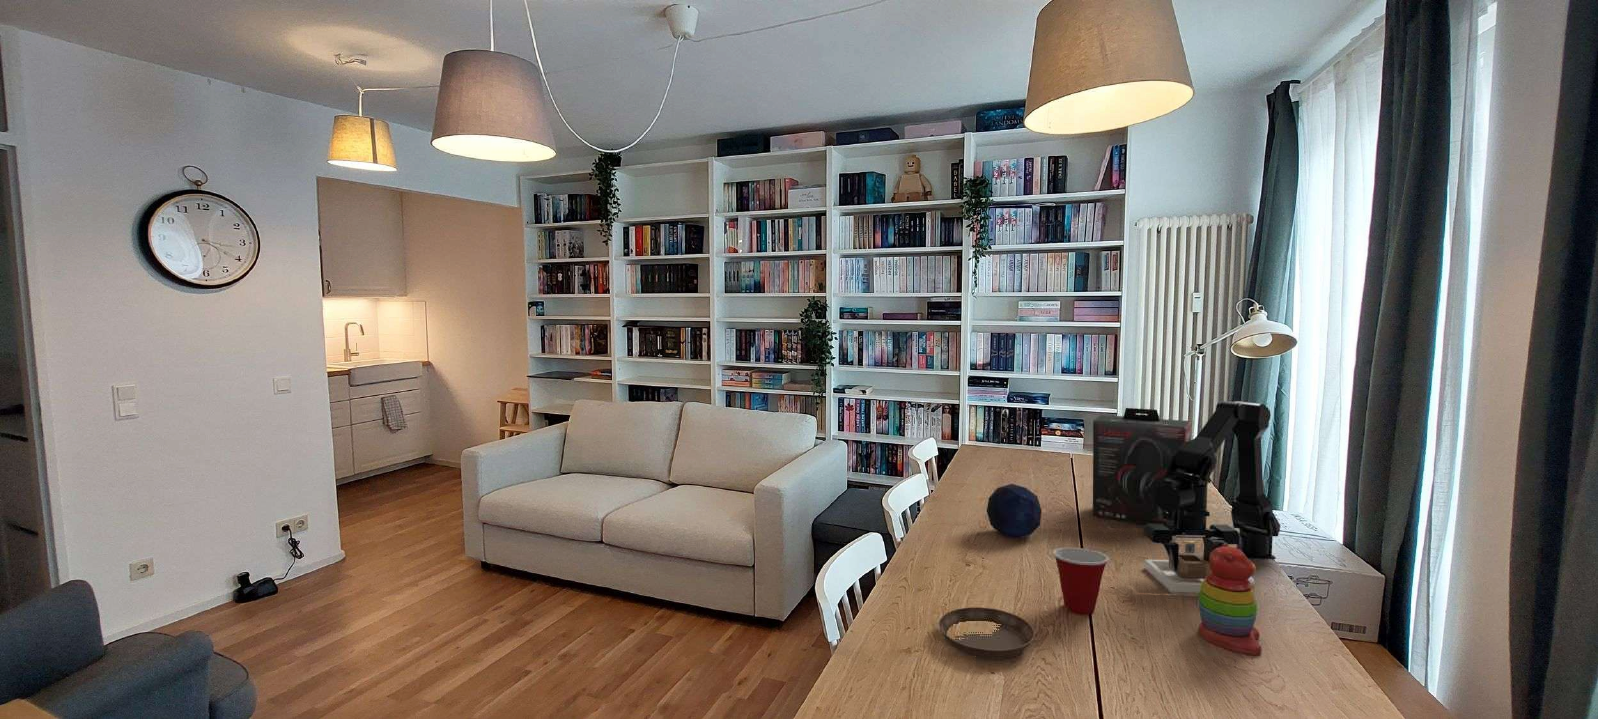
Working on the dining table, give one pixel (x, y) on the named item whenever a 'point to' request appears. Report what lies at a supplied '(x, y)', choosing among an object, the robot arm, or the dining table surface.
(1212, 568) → the stacking bear
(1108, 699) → the dining table surface
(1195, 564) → the brown hollow block
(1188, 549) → the grey rounded piece
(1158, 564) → the tray
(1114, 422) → the headset box
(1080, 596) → the plastic cup
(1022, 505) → the decorative orb
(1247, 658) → the dining table surface
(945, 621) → the plant saucer
